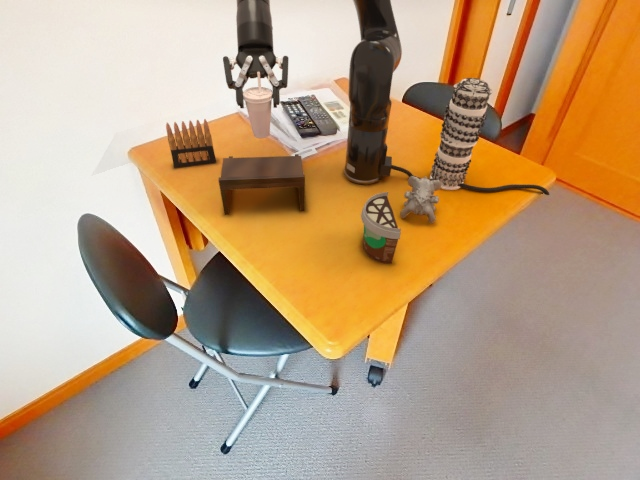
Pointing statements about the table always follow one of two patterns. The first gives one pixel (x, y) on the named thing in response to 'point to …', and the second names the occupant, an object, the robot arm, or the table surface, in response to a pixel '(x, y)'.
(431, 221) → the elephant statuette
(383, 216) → the food container
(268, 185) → the stand
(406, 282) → the table surface
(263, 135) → the smoothie
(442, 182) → the white patterned cylinder
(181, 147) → the ammunition clip
